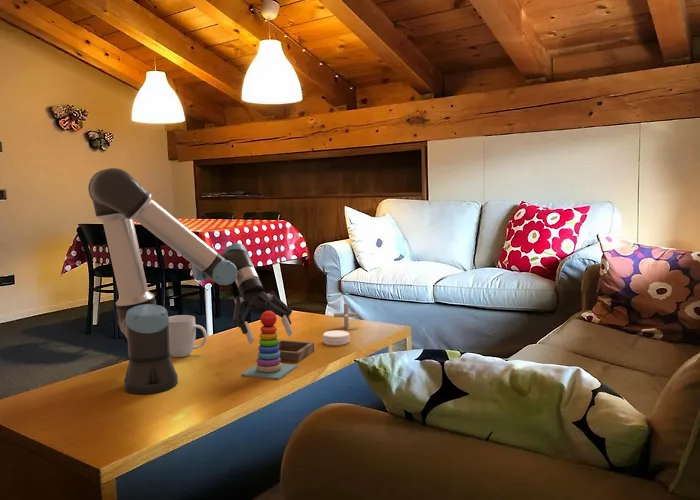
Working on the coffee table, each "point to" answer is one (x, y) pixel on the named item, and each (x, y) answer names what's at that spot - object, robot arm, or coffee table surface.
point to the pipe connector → (346, 315)
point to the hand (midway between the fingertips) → (271, 337)
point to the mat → (270, 375)
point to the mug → (183, 335)
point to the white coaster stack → (336, 337)
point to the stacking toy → (268, 345)
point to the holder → (301, 348)
